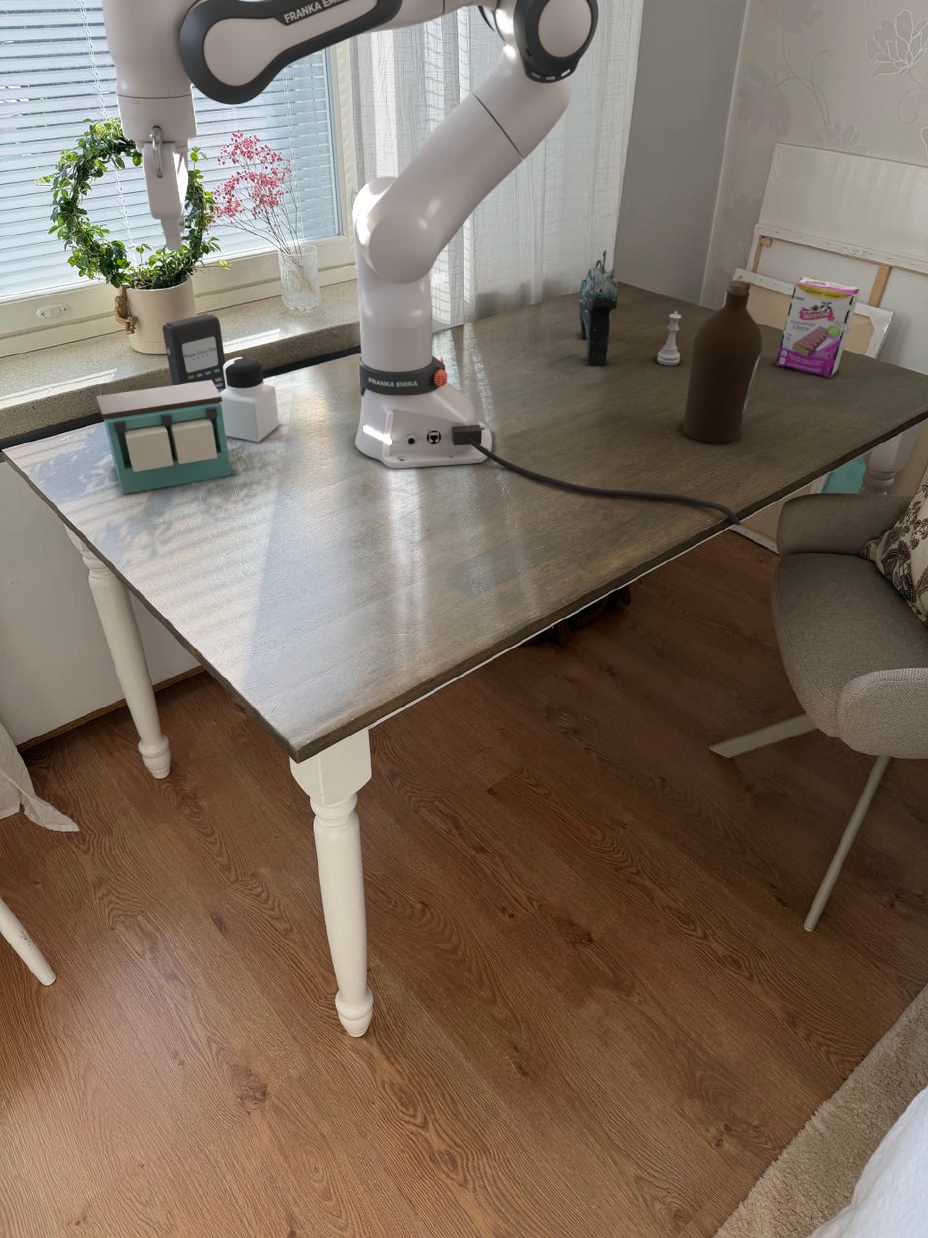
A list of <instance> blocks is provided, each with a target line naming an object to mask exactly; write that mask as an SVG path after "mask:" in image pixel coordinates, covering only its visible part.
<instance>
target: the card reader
mask: <svg viewBox="0 0 928 1238" xmlns="http://www.w3.org/2000/svg"><path fill="white" fill-rule="evenodd" d="M162 333H163V339H164V345H165V350H166V356H167V361H168V366H169V373H170V377H171V383H172V385H179V384H187V383H194V382H201V381H208V380H212V381H213V383H214V385H215V387H216V388H217V390H218V392H219V393H220V392H222V391H223V390H224V389H226V385H225V378H224V371H223V365H224V364H225V363H226V360H225V351H224V345H223V344H224V343H223V336H222V329H221V322H220V320H219V317H217V316H216V315H214V314H208V313H204V314H199V315H196V316H195V315H194V316H190V317H187V318H182V319H178V320H177V319H176V320H173V321H169V322H166V323H165V324H163V325H162Z"/></svg>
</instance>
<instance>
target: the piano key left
mask: <svg viewBox="0 0 928 1238" xmlns="http://www.w3.org/2000/svg"><path fill="white" fill-rule="evenodd" d="M124 435H125V439H126V444H127V449H128V453H129V458H130V462H131V465H132V468H133V471H134V472H137V471H143V470H149V469H155V468H161V467H167V466H173V460H172V454H171V449H170V444H169V438H168V433H167V430H166V428H165V426H163V424H159V425H153V426H146V427H140V428H133V429H127V432H124Z"/></svg>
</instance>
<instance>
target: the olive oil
mask: <svg viewBox="0 0 928 1238" xmlns="http://www.w3.org/2000/svg"><path fill="white" fill-rule="evenodd" d="M750 289H751V283H749V282H748V281H745V280H739V279H738V280H737V279H736V280H731V281H729V284H728V290H727V291H726V296H725V303H724V306H722V307H721V308H720V309H719V310H718V311H716V312H715V313H714V314H712V315H711V316H710V317H709V318H707V319H706V320H705V321H704V322H703V323H702V324H701V325H700V327H699V329H698V331H697V333H696V335H695V337H694V341H693V349H692V355H691V356H692V357H691V367H690V374H689V381H688V387H687V388H688V390H687V396H686V405H685V411H684V418H683V424H682V430H683V433H685V434H686V435H687V436H688V437H690V438H692V439H694V440H695V441H699V442H702V443H708V444H726V443H731V442H733V441H735V440H736V439H737V438H738V437H739V435H740V431H741V428H742V423H743V419H744V415H745V411H746V408H747V405H748V401H749V397H750V393H751V389H752V386H753V382H754V379H755V375H756V371H757V369H758V364H759V361H760V357H761V354H762V348H763V337H762V332H761V330H760V328H759V326H758V324H757V322H756V321H755V320H754V318H753V317H752V315H751V313H750V312H749V310H748V309H747V307H748V301H749V299H750V298H749V297H750V292H749V291H750Z"/></svg>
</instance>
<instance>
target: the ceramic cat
mask: <svg viewBox="0 0 928 1238" xmlns="http://www.w3.org/2000/svg"><path fill="white" fill-rule="evenodd" d="M602 257H603V258H602V260H603V261H602V260H601V259H598V260H597V261H596V264H595V267H590V268H588V271H587V274H586V277H585V279H582V280H581V284H580V290H579V291H580V292H579V297H578V299H579V300H578V315H579V320H580V338H581V339H582V340H586V353H585V360H586V362H587V365H588V366H596V367H597V366H599V367H602V366H603V367H604V366H606V362H607V357H608V351H609V342H610V332H611V318H612V317H611V315H612V311H613V310H616V309H617V308H618V305H619V304H618V294H619V283H618V277H617V275H614V274H615V268H612V269H610V270H609V271H607V270H606V269H605V263H606V259H607V250H604V251H603V253H602ZM598 266H599V267H598Z"/></svg>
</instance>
